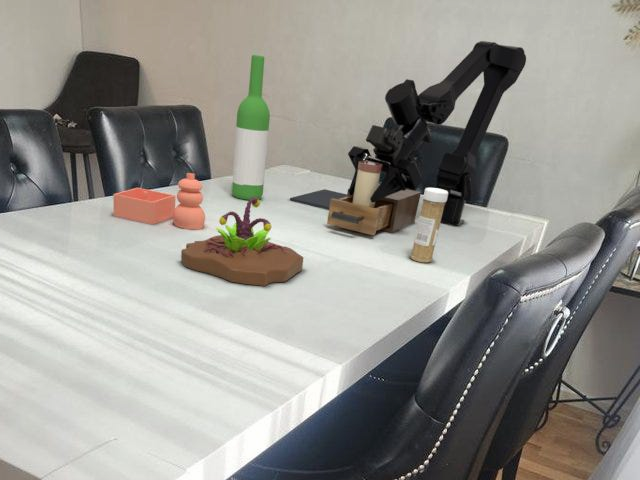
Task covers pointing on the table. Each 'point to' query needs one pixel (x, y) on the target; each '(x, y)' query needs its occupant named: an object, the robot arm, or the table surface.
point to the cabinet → (401, 209)
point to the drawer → (359, 215)
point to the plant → (243, 253)
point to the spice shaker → (366, 182)
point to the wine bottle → (251, 137)
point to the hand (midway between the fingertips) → (360, 197)
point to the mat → (319, 198)
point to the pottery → (163, 205)
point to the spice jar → (428, 224)
